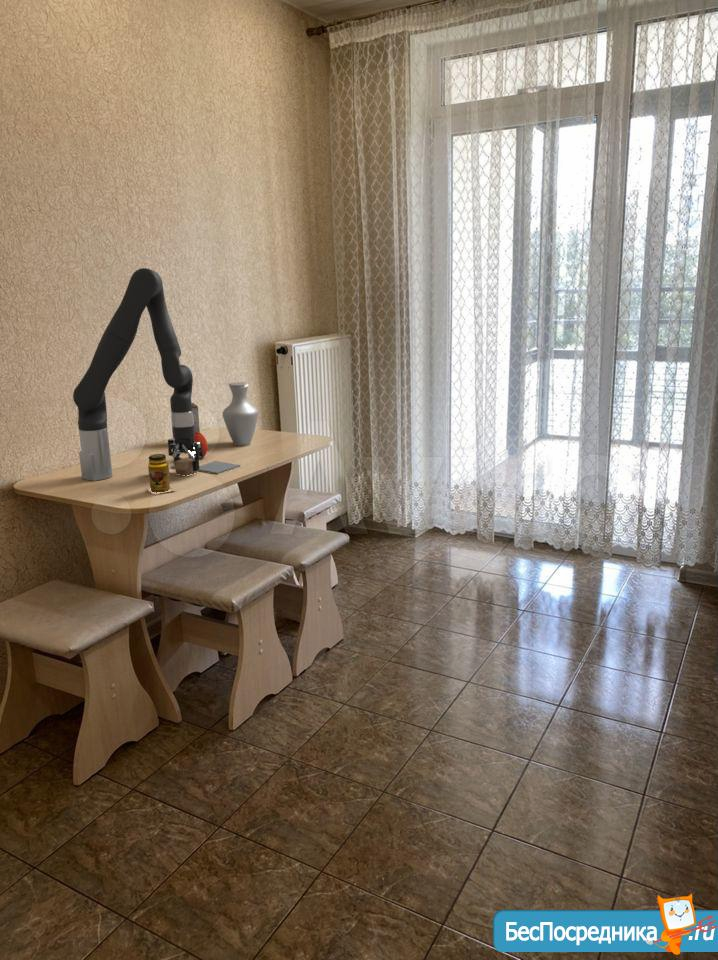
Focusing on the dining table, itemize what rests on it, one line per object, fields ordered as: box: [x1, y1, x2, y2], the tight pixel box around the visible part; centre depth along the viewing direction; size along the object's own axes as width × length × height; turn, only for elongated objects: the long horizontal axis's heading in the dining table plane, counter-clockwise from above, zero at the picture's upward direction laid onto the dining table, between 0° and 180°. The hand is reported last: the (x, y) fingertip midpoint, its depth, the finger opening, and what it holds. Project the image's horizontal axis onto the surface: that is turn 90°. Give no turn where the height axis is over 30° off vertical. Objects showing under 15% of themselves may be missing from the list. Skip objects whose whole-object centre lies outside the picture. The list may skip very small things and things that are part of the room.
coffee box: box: [192, 402, 201, 433], centre depth 294 cm, size 9×6×16 cm
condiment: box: [147, 453, 171, 493], centre depth 230 cm, size 7×8×12 cm
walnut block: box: [175, 457, 198, 477], centre depth 250 cm, size 5×5×5 cm
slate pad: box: [197, 460, 241, 475], centre depth 257 cm, size 12×12×1 cm
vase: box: [222, 381, 259, 447], centre depth 290 cm, size 14×14×25 cm
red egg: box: [188, 431, 209, 459], centre depth 270 cm, size 8×8×11 cm
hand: (187, 469), depth 250 cm, fingers open, 8 cm apart
